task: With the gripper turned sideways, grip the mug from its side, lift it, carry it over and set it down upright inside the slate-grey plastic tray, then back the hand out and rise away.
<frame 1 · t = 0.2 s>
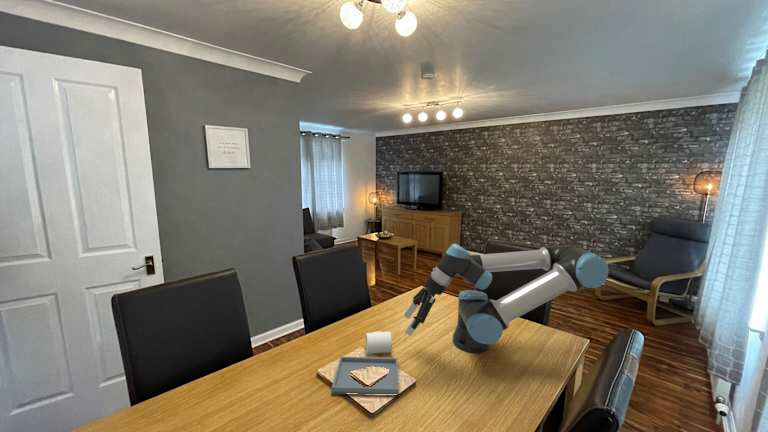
hand: (406, 325, 116), 15 cm above the table, tool tilted 35°, fingers open, 13 cm apart
tray: (367, 378, 107), on the table
mug: (377, 349, 126), on the table
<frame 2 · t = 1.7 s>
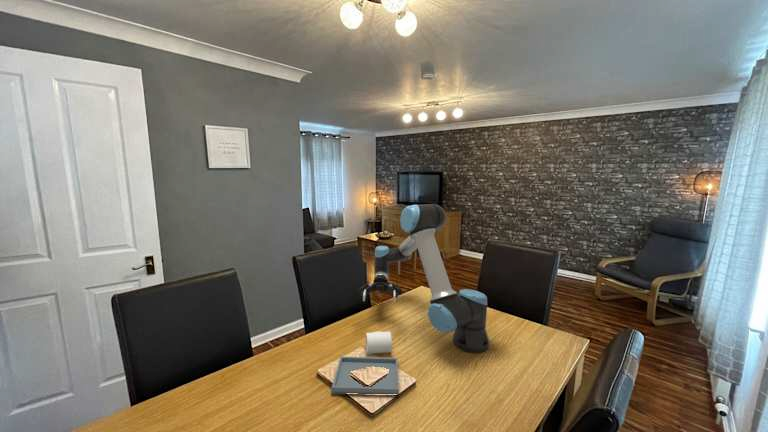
hand: (379, 298, 133), 18 cm above the table, tool horizontal, fingers open, 13 cm apart
nothing on the table moved.
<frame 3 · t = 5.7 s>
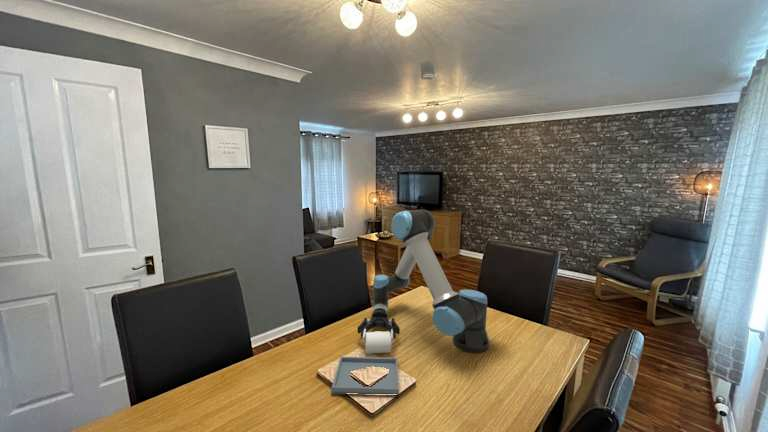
hand: (377, 340, 121), 6 cm above the table, tool horizontal, fingers closed on mug, 11 cm apart
mug: (377, 349, 126), on the table, touching gripper
when the fingers open (8 cm above the table, at t = 11.2 s): mug drops 1 cm, resting on tray.
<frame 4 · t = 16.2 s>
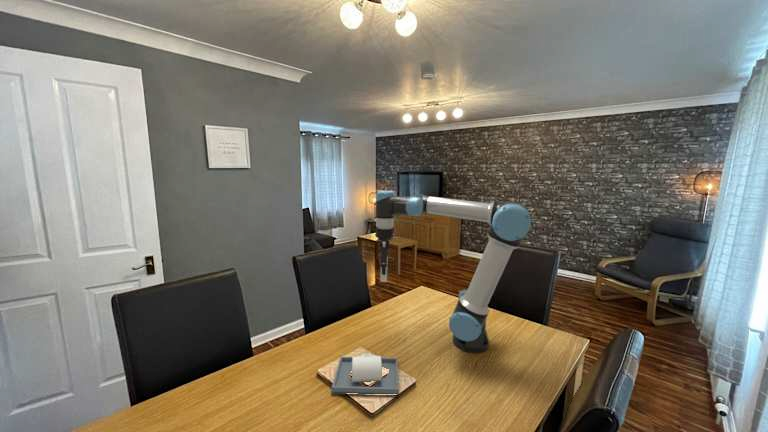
hand: (384, 276, 130), 29 cm above the table, tool pointing down, fingers open, 13 cm apart
mug: (366, 375, 107), point 1 cm above the table, touching tray
at the end: mug inside the target area on the tray (0.2 cm from its centre), point 0.8 cm above the tray's base; mug tilted 0°; the gripper is holding nothing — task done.
